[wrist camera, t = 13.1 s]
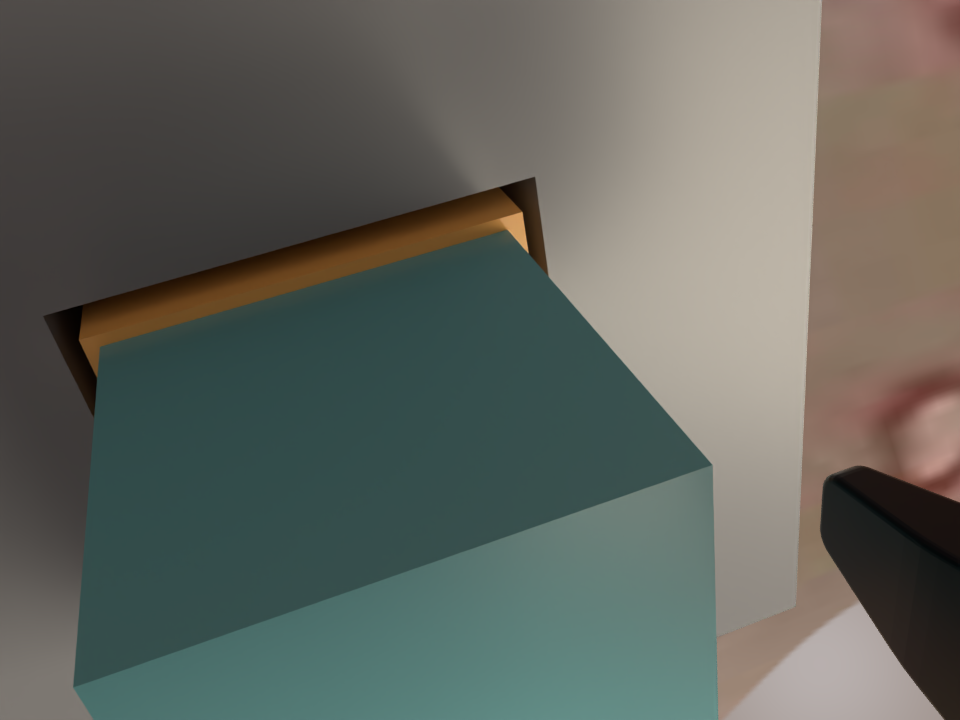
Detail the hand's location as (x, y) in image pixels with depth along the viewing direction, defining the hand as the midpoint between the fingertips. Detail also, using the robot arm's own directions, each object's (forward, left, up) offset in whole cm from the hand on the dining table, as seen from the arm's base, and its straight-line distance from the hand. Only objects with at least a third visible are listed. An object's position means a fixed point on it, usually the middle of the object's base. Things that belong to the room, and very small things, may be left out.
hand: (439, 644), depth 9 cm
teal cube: (0, 0, -4) cm, 4 cm away
